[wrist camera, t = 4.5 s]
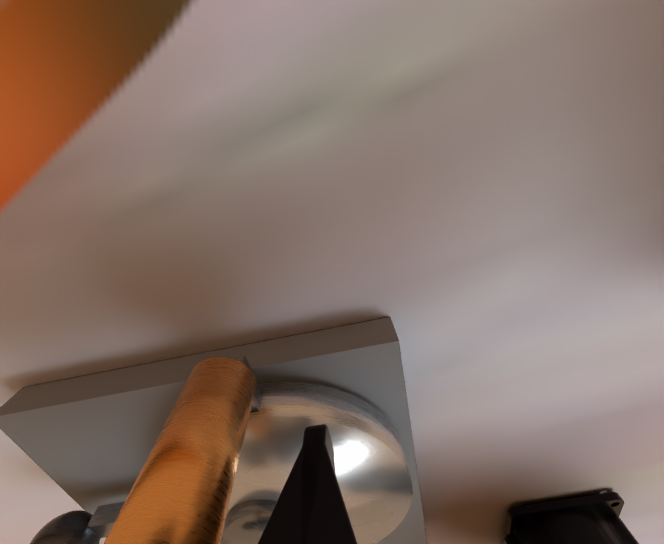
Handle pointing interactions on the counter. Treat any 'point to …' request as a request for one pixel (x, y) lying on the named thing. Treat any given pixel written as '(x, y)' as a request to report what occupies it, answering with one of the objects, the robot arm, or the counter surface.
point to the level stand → (163, 391)
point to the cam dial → (247, 464)
